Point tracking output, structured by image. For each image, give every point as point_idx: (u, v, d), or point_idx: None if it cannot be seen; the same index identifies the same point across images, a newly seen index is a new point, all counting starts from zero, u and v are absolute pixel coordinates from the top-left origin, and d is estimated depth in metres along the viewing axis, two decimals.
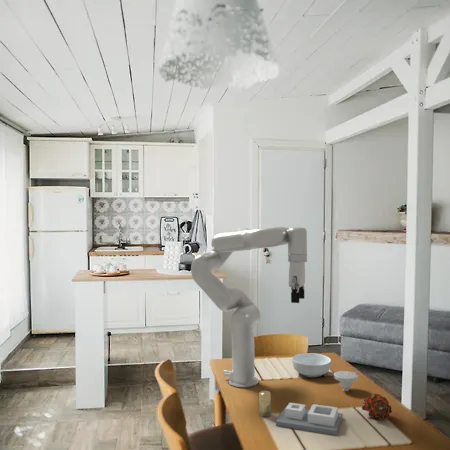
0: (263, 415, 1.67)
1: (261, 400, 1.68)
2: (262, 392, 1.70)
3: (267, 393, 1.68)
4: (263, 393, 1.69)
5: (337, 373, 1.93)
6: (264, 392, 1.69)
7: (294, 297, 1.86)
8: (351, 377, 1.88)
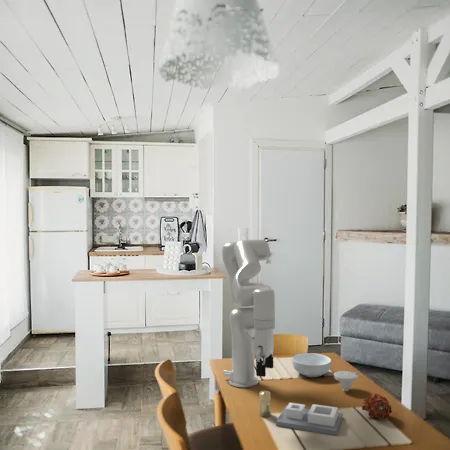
0: (263, 415, 1.67)
1: (261, 400, 1.68)
2: (262, 392, 1.70)
3: (267, 393, 1.68)
4: (263, 393, 1.69)
5: (337, 373, 1.93)
6: (264, 392, 1.69)
7: (259, 370, 1.63)
8: (351, 377, 1.88)
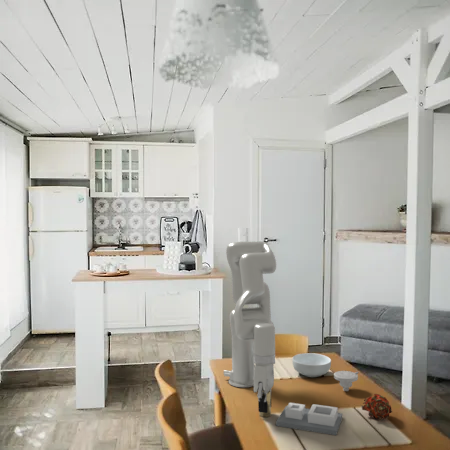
0: (263, 415, 1.67)
1: None
2: None
3: (267, 393, 1.68)
4: None
5: (337, 373, 1.93)
6: None
7: (262, 406, 1.66)
8: (351, 377, 1.88)
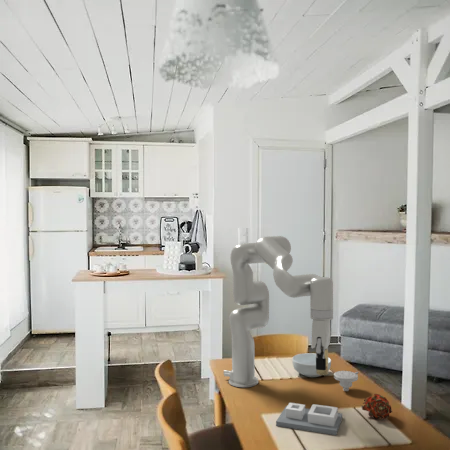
0: (321, 373, 1.60)
1: None
2: None
3: (325, 350, 1.60)
4: None
5: (337, 373, 1.93)
6: None
7: (320, 363, 1.58)
8: (351, 377, 1.88)
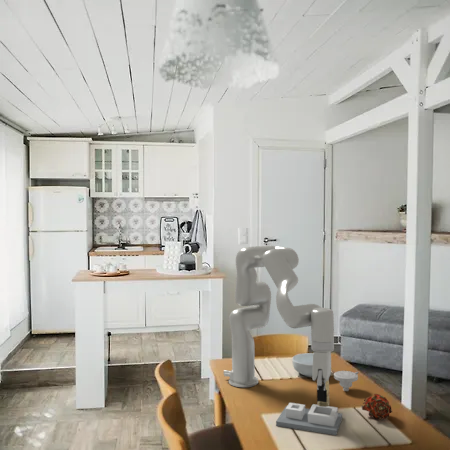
0: (322, 404, 1.60)
1: None
2: None
3: (326, 381, 1.61)
4: None
5: (337, 373, 1.93)
6: None
7: (321, 395, 1.58)
8: (351, 377, 1.88)
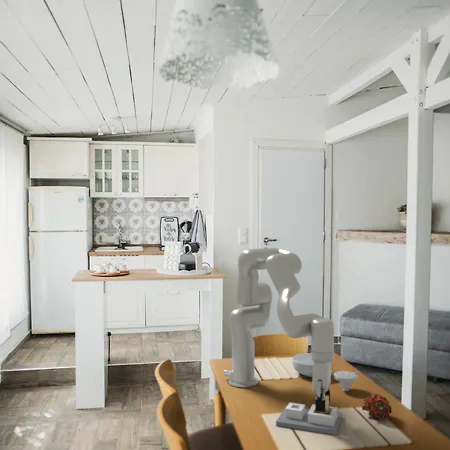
0: None
1: None
2: None
3: (325, 396, 1.61)
4: None
5: (337, 373, 1.93)
6: None
7: (319, 405, 1.57)
8: (351, 377, 1.88)
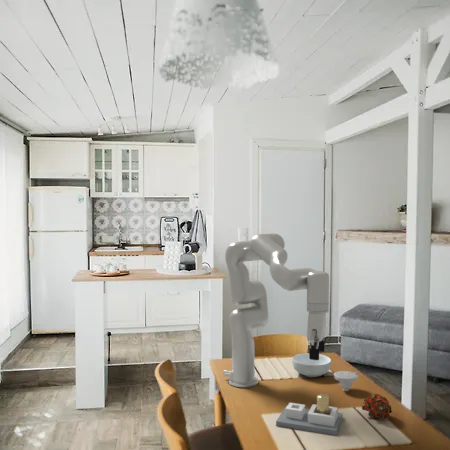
0: None
1: (319, 404, 1.60)
2: (319, 395, 1.62)
3: (325, 396, 1.61)
4: (321, 396, 1.61)
5: (337, 373, 1.93)
6: (322, 396, 1.61)
7: (313, 353, 1.61)
8: (351, 377, 1.88)
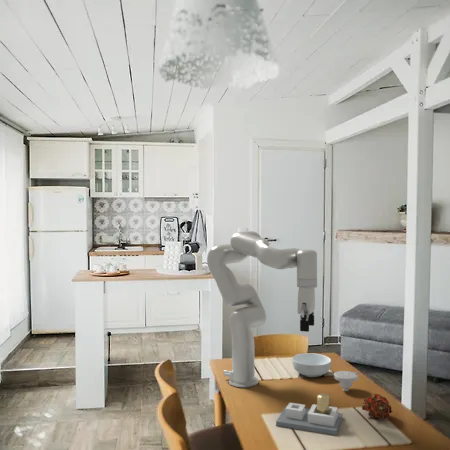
0: None
1: (319, 403, 1.60)
2: (320, 395, 1.62)
3: (326, 396, 1.61)
4: (322, 396, 1.61)
5: (337, 373, 1.93)
6: (322, 396, 1.61)
7: (303, 325, 1.74)
8: (351, 377, 1.88)
